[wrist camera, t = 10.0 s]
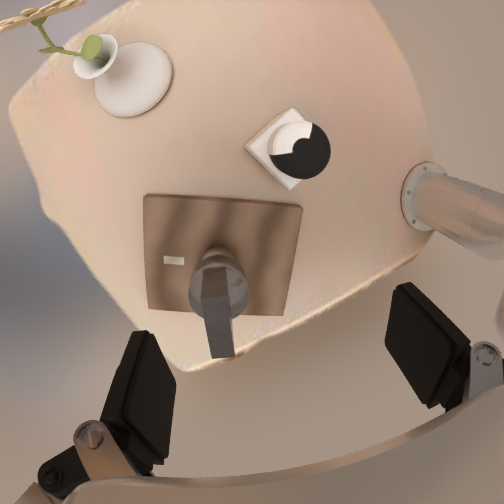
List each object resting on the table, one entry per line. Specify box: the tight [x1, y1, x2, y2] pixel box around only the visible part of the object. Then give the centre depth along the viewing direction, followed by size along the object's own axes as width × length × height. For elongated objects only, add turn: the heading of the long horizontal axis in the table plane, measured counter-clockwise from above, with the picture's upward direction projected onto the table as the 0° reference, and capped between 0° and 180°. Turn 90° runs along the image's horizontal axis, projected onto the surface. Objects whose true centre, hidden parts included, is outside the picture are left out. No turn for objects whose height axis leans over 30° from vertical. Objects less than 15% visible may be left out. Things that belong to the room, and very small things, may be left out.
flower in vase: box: [0, 0, 172, 117], centre depth 18 cm, size 13×11×25 cm
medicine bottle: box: [245, 108, 331, 190], centre depth 30 cm, size 7×7×12 cm
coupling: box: [188, 255, 249, 359], centre depth 30 cm, size 10×7×10 cm
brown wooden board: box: [143, 194, 303, 316], centre depth 38 cm, size 22×18×7 cm
